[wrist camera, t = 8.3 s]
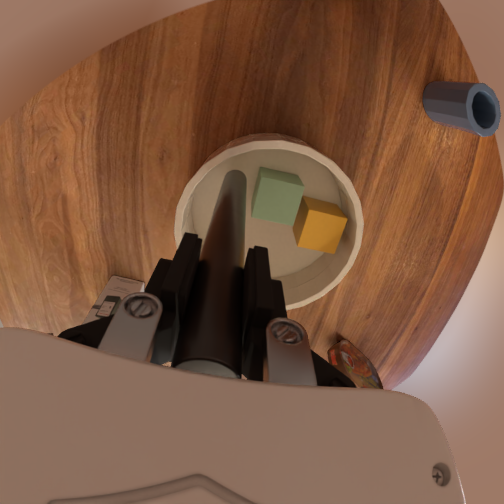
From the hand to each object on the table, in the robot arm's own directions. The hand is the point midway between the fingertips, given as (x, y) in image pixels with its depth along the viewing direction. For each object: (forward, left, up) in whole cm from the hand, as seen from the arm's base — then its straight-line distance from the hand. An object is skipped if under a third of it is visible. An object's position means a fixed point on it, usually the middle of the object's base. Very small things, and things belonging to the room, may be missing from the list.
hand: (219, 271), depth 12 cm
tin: (+25, +24, -19) cm, 39 cm away
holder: (-14, +20, -19) cm, 31 cm away
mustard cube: (+3, +9, -19) cm, 21 cm away
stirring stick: (0, 0, -15) cm, 15 cm away
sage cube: (+1, +4, -19) cm, 19 cm away
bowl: (+4, +4, -19) cm, 20 cm away
